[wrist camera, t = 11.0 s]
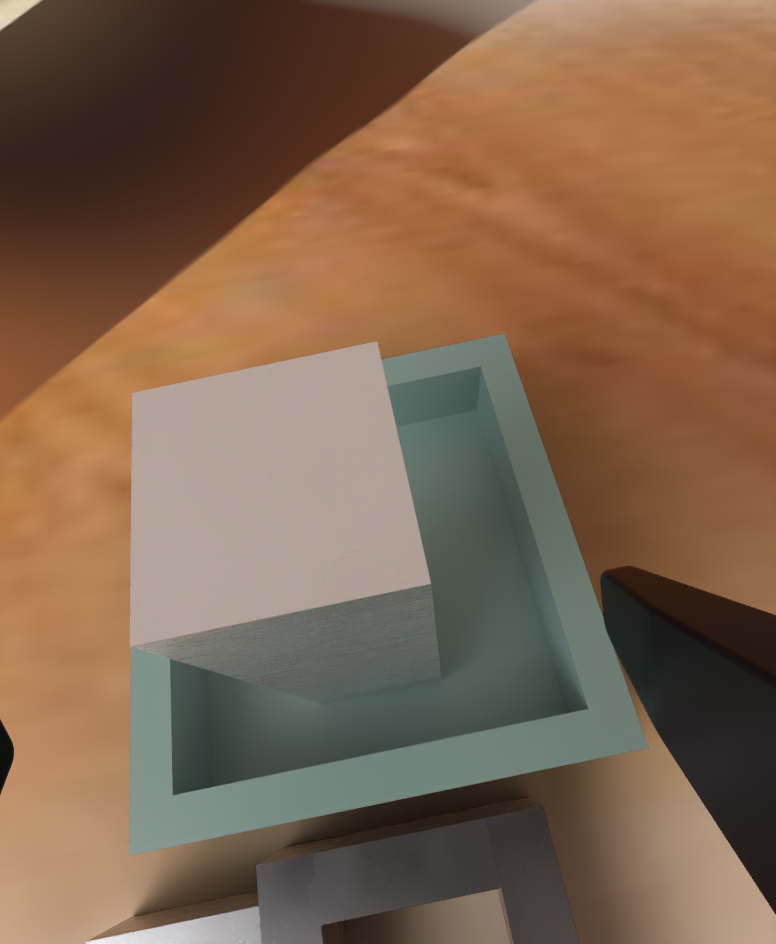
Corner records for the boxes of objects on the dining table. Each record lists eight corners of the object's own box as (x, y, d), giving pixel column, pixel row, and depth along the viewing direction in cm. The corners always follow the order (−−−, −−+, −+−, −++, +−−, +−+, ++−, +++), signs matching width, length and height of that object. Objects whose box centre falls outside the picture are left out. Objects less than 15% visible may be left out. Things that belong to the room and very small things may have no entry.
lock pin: (441, 680, 19) (431, 583, 7) (324, 704, 19) (129, 646, 8) (416, 565, 21) (377, 341, 9) (308, 588, 21) (132, 392, 9)
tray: (610, 746, 19) (648, 747, 15) (190, 833, 19) (129, 856, 15) (496, 392, 25) (504, 333, 21) (178, 459, 25) (133, 412, 21)
